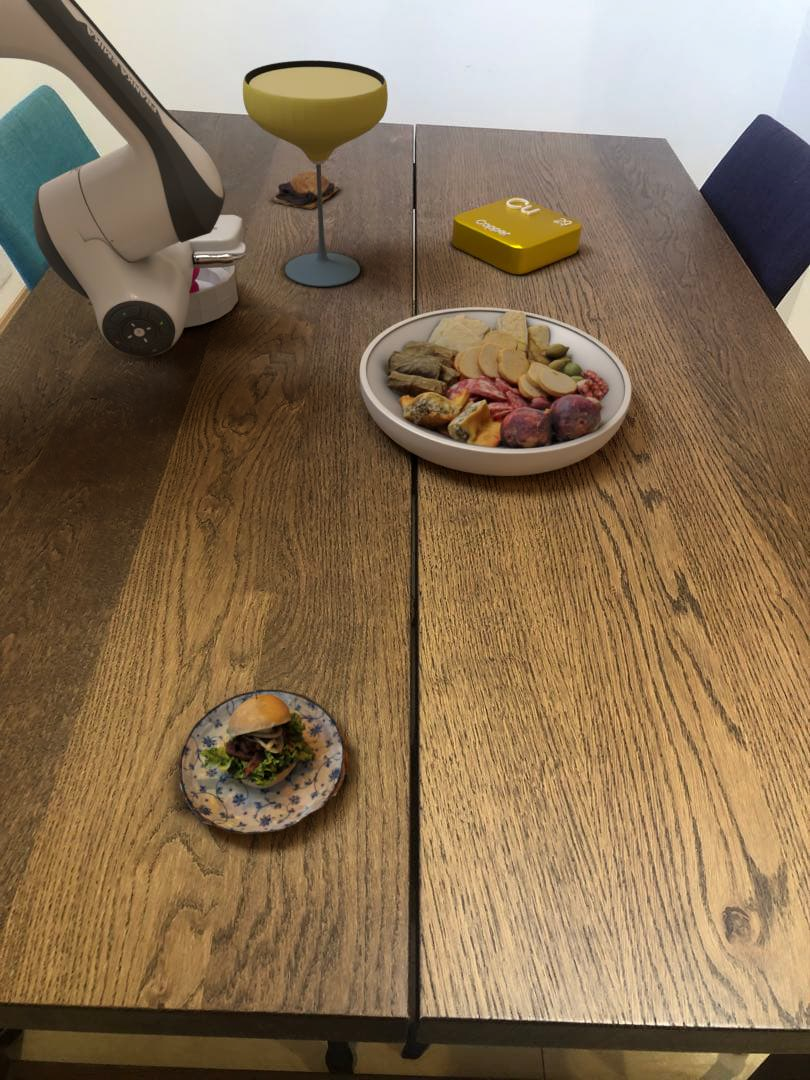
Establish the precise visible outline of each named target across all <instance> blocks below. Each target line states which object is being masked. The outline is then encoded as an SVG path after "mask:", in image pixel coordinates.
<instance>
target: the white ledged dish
mask: <svg viewBox="0 0 810 1080" xmlns="http://www.w3.org/2000/svg"><path fill="white" fill-rule="evenodd" d="M236 269H237V268H236V264H235V265H233V266H229V267H218V268H200V272H199V275H198V277H197V278H196V280H195V281H196V282H197V283H198V285H199V291H198V292H194V293H190V301H189V309H188V315H187V319H186V323H185V326H184V329H185V328H190V327H196V326H200V325H201V326H202V325H204V324H207V323H210V322H213V321H215V320H218V319H220V318H221V317H223V316H225V315H227V313H229V312H231V311H232V310H233V309H234V307H235V306H236V304H237V303H238V301H239V288H238V279H237V271H236Z"/></svg>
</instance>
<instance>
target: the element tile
mask: <svg viewBox="0 0 810 1080" xmlns="http://www.w3.org/2000/svg"><path fill="white" fill-rule="evenodd" d="M452 223H453V225H452V237H451V238H452V239H451V244H452V245H453V246H454V247H455V248H456V249H458V250H460V251H462V252H463V253H467V254H469V255H470V256H472V257H475V258H477V259H479V260H481V261H483V262H484V263H487V264H488V265H491V266H493V267H495V268H498V269H499V270H502V271H504V272H505V273H508V274H512V275H517V276H518V275H520V276H521V275H526V274H528V273H531V272H534V271H536V270H538V269H541V268H543V267H546V266H548V265H551V264H553V263H555V262H558V261H560V260H563V259H565V258H568V257H571V256H573V255H575V254H576V253H577V252H578V251H579V246H580V239H581V236H582V235H581V234H582V229H583V225H582V223H581V222H580V221H579V220H576V219H575V218H572V217H569V216H566V215H565V214H562V213H560V212H557V211H554V210H552V209H549V208H547V207H545V206H542V205H540V204H537V203H535V202H533V201H530V200H528V199H525V198H524V197H520V196H516V195H515V196H510V197H506V198H503V199H499V200H497V201H494V202H491V203H488V204H485V205H481V206H478V207H475V208H472V209H469V210H466V211H464V212H460V213H458V214H455V216H454V217H453V222H452Z"/></svg>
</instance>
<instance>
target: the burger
mask: <svg viewBox="0 0 810 1080" xmlns="http://www.w3.org/2000/svg"><path fill="white" fill-rule="evenodd" d="M253 684H254V685H253V687H254V690H252V691H247V692H242V693H239V694H236V695H234V696H231V697H230V698H227V699H226V700H223V701H222V702H220V703H218V704H217V705H216V706H214V707H212V708H211V709H210V710H208V711H207V712H206V713H205V714H204V715H202V717H201V718H200V719H199V720H197V722H196V723H195V724H194V726H193V727H192V728H191V730H190V731H189V733H188V735H187V737H186V740H185V742H184V744H183V745H182V746H183V747H182V749H181V751H180V754H179V761H178V778H179V788H180V793H181V799H182V801H183V804H184V805H186V806H187V807H188V809H189V810H190V811H191V813H192V814H193V815H194V817H196V818H197V819H198V820H199V821H200V822H201V823H203V824H206V825H210V826H213V827H216V828H219V829H221V830H223V831H225V832H228V833H232V834H240V835H243V834H244V835H258V834H263V833H271V832H281V831H284V830H288V829H289V828H292V827H294V826H295V825H297V824H298V823H299V822H301V821H302V820H304V819H305V818H307V817H309V816H310V815H311V814H313V813H314V812H317V811H319V810H320V809H322V808H323V807H324V806H325V805H326V803H327V802H328V801H329V800H330V799H331V798H333V797H336V796H337V794H338V792H339V791H340V789H341V787H342V785H343V782H344V780H345V776H348V775H349V758H348V752H347V743H346V737H345V734H344V732H343V731H342V730H341V728H340V726H339V723H338V722H337V721H336V719H334V717H333V715H331V713H330V712H328V711H327V710H326V709H325V708H324V707H323V706H322V705H320V704H319V703H317V701H314V699H311V698H310V697H308V696H306V695H304V694H301V693H297V692H293V691H288V690H284V689H262V688H261V689H259V688H258V689H257V684H256V677H255V676H253Z"/></svg>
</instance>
